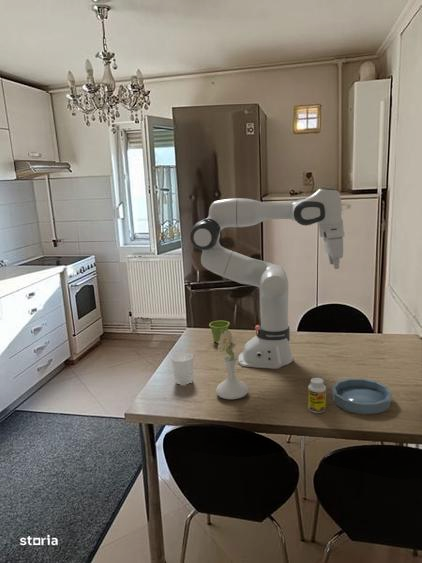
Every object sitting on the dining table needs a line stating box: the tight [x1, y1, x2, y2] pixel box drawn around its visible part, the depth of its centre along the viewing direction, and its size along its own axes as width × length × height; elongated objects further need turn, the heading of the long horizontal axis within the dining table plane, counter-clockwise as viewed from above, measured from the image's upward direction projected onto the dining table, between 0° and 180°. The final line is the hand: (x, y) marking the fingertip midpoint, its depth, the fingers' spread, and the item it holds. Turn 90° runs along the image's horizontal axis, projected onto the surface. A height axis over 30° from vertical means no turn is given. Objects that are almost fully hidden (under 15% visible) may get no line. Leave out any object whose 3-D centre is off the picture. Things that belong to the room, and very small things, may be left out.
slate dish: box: [331, 377, 393, 415], centre depth 144 cm, size 18×18×4 cm
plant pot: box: [209, 320, 230, 344], centre depth 204 cm, size 9×9×9 cm
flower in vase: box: [215, 329, 249, 400], centre depth 149 cm, size 13×11×25 cm
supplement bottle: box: [307, 377, 327, 414], centre depth 139 cm, size 6×6×10 cm
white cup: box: [171, 352, 194, 386], centre depth 164 cm, size 8×8×10 cm
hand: (334, 266), depth 168 cm, fingers open, 8 cm apart
